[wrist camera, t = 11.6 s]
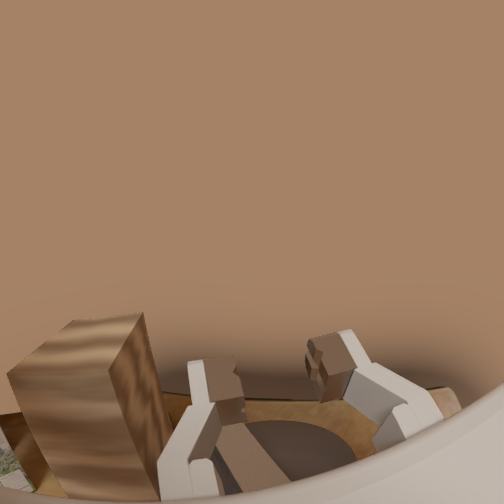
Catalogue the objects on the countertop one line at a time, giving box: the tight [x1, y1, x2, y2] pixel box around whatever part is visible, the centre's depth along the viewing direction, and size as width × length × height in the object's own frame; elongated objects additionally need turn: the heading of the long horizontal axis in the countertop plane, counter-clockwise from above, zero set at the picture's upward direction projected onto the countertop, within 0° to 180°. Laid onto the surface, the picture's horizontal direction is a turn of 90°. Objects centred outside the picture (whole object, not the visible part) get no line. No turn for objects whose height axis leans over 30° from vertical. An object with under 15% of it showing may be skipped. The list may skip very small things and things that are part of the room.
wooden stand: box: [7, 312, 174, 502], centre depth 26 cm, size 16×9×26 cm, turn 10°
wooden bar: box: [213, 422, 291, 494], centre depth 16 cm, size 25×3×3 cm, turn 22°
